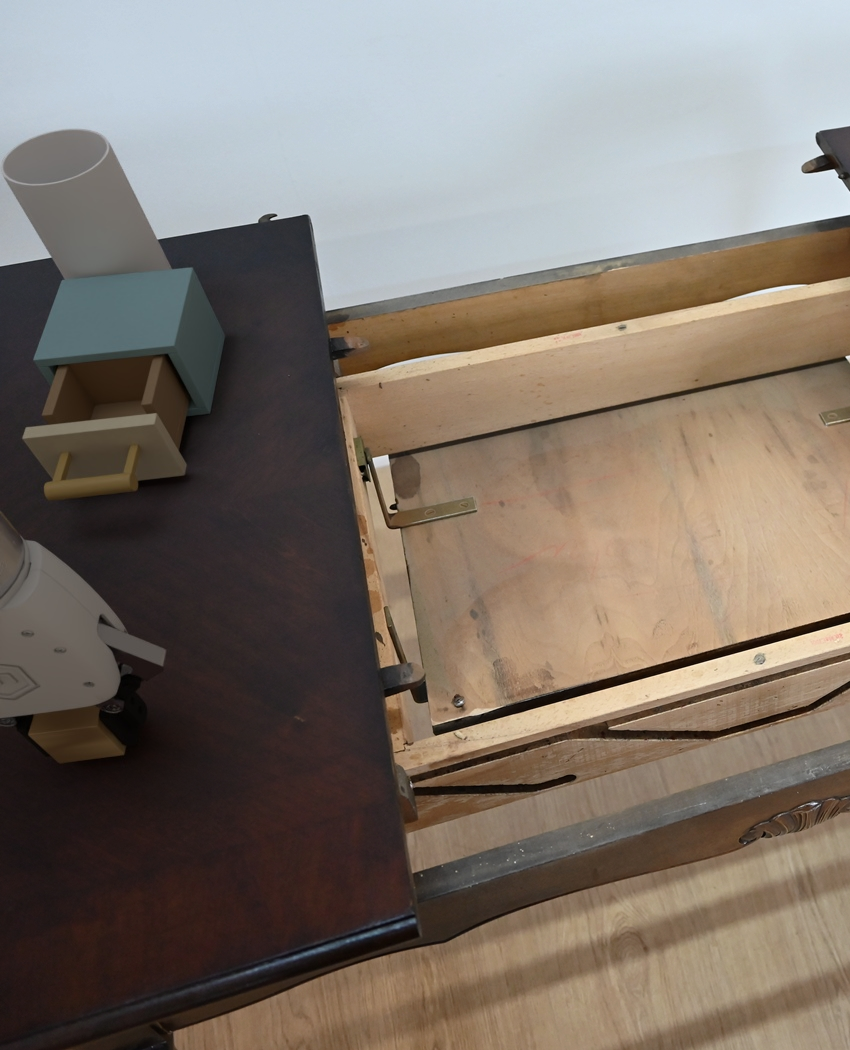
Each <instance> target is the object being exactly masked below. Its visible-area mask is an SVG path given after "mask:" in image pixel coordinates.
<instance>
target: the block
mask: <svg viewBox="0 0 850 1050" xmlns="http://www.w3.org/2000/svg"><path fill="white" fill-rule="evenodd" d="M99 711H100V709H99V708H98V707H96V706H95V705H92V706H87V707H81V708H75V709H68V710H61V711H53V712H46V713H38V714H34V715H33V719H32V723H31V726H30V730H29V733H28V735H29V736H30V737H31V738H32V739H33V740H34V741H35V742H36V743H37V744H38V745H40V746H41V747H42V748H43V749H44V750H45V751H46V752H47V753H48V754H49V755H50V756H49V757H52V759H54V760H55V761H56V762H57V763H58V764H65V763H74V762H82V761H89V760H96V759H105V758H111V757H119V756H124V755H125V753H126V748H127V746H125V745H124V744H122V743H121V742H120V741H119V740H118V739H117V737H116V736H115V735H114V734H113V733H112V732H111V731H110V730H109V729H108V728H107V727H106V726H105V725H104V724H103V723H102V722H101V720H100V718H99Z"/></svg>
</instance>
